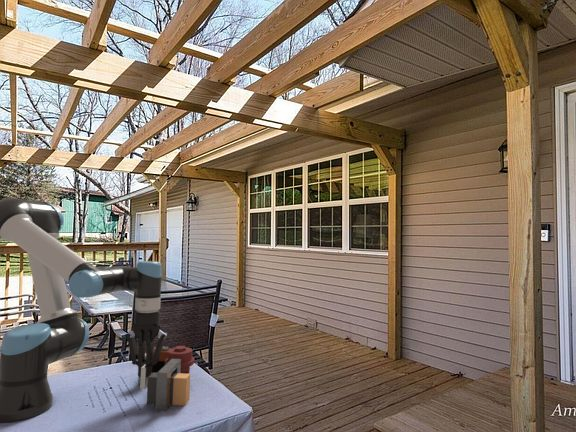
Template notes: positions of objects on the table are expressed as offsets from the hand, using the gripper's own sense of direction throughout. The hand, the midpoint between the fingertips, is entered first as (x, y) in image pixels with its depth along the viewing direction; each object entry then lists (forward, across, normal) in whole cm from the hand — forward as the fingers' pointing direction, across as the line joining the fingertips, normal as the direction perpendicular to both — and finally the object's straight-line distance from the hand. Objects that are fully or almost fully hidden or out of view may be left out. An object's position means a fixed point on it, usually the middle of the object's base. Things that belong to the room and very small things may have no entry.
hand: (144, 387), depth 115 cm
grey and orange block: (+4, +8, 0) cm, 9 cm away
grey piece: (+4, +8, 0) cm, 9 cm away
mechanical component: (+4, +6, +15) cm, 17 cm away
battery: (+4, -3, +23) cm, 23 cm away
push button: (+4, -4, +14) cm, 15 cm away
